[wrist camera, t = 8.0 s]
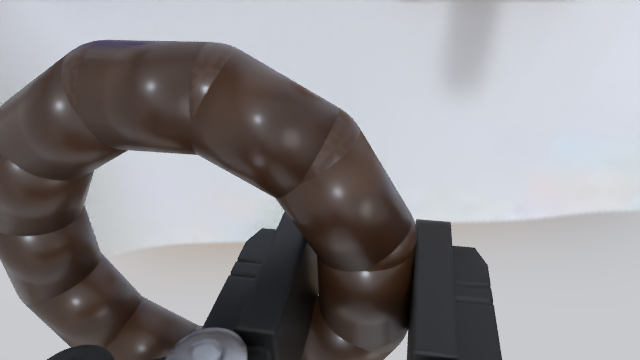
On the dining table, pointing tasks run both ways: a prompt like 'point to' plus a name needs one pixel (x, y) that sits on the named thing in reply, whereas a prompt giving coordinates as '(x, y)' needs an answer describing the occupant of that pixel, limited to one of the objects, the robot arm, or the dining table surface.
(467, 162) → the dining table surface
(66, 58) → the ring
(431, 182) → the dining table surface
